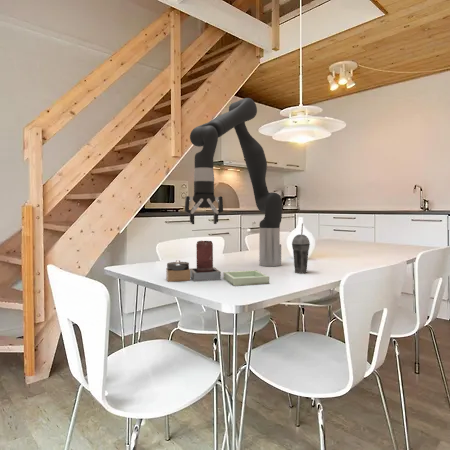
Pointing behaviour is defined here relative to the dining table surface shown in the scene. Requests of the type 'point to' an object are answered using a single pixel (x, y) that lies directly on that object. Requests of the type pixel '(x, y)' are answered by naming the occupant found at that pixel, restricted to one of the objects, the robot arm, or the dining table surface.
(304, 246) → the beverage cup
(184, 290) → the dining table surface
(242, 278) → the tray
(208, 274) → the brown and grey dock
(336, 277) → the dining table surface
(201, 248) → the can
